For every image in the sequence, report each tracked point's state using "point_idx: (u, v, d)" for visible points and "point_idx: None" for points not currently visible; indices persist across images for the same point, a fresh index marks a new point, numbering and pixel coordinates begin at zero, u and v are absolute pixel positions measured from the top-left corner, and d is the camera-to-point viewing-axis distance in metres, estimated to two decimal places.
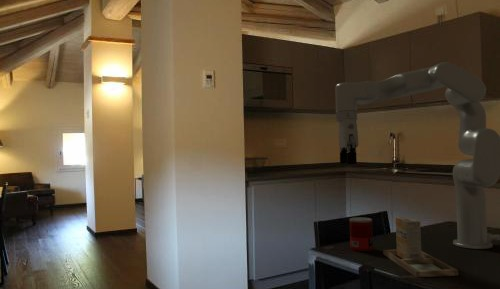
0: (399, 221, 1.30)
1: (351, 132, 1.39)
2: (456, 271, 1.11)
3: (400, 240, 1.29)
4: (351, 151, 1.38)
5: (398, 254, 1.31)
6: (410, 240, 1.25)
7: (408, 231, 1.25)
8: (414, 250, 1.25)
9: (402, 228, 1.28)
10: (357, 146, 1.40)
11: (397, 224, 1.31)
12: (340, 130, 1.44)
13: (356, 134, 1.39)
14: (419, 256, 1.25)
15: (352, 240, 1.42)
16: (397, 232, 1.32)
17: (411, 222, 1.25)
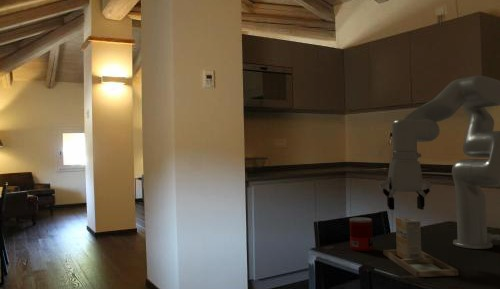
0: (399, 221, 1.30)
1: None
2: (456, 271, 1.11)
3: (400, 240, 1.29)
4: None
5: (398, 254, 1.31)
6: (410, 240, 1.25)
7: (408, 231, 1.25)
8: (414, 250, 1.25)
9: (402, 228, 1.28)
10: None
11: (397, 224, 1.31)
12: (409, 172, 1.27)
13: None
14: (419, 256, 1.25)
15: (352, 240, 1.42)
16: (397, 232, 1.32)
17: (411, 222, 1.25)
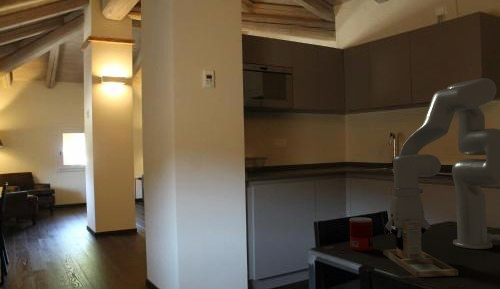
0: None
1: None
2: (456, 271, 1.11)
3: None
4: None
5: (398, 254, 1.31)
6: (410, 240, 1.25)
7: (408, 230, 1.25)
8: (414, 250, 1.25)
9: None
10: None
11: None
12: (411, 209, 1.27)
13: None
14: (419, 256, 1.25)
15: (352, 240, 1.42)
16: None
17: (411, 222, 1.25)
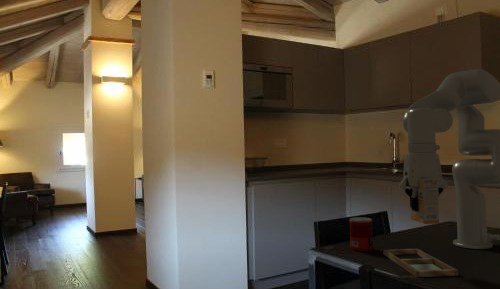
0: None
1: None
2: (456, 271, 1.11)
3: None
4: None
5: (412, 217, 1.20)
6: (427, 199, 1.13)
7: (424, 189, 1.13)
8: (431, 210, 1.13)
9: None
10: None
11: None
12: (427, 166, 1.15)
13: None
14: (436, 217, 1.14)
15: (352, 240, 1.42)
16: None
17: (428, 180, 1.14)
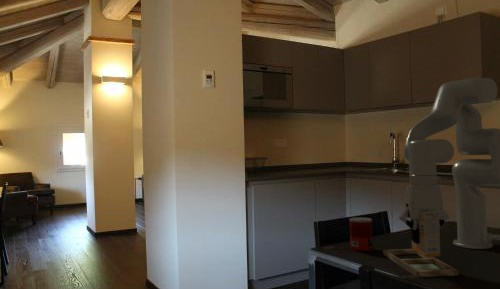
0: None
1: None
2: (456, 271, 1.11)
3: None
4: None
5: (413, 248, 1.20)
6: (428, 232, 1.13)
7: (425, 222, 1.13)
8: (432, 243, 1.13)
9: None
10: None
11: None
12: (428, 198, 1.15)
13: None
14: (437, 250, 1.13)
15: (352, 240, 1.42)
16: None
17: (429, 212, 1.13)
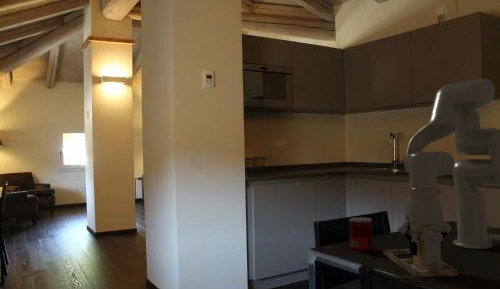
0: None
1: None
2: (456, 271, 1.11)
3: (417, 247, 1.18)
4: None
5: (414, 262, 1.20)
6: (429, 248, 1.13)
7: (426, 237, 1.13)
8: (433, 259, 1.13)
9: (419, 234, 1.16)
10: None
11: None
12: (429, 211, 1.15)
13: None
14: (438, 266, 1.13)
15: (352, 240, 1.42)
16: None
17: (430, 228, 1.13)
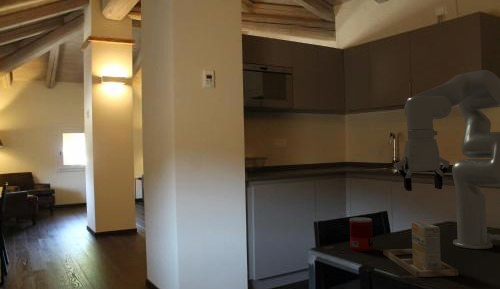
0: (415, 227, 1.18)
1: None
2: (456, 271, 1.11)
3: (417, 248, 1.18)
4: None
5: (414, 263, 1.20)
6: (429, 248, 1.13)
7: (425, 237, 1.13)
8: (433, 259, 1.13)
9: (419, 234, 1.16)
10: None
11: (413, 230, 1.20)
12: (426, 151, 1.22)
13: None
14: (438, 266, 1.13)
15: (352, 240, 1.42)
16: (413, 238, 1.20)
17: (429, 228, 1.13)
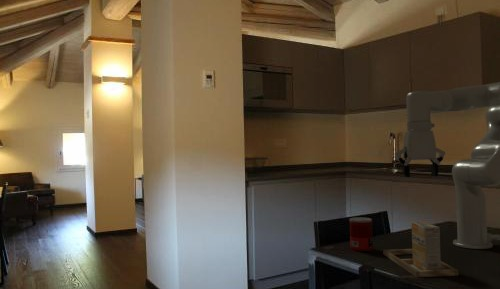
0: (415, 227, 1.18)
1: None
2: (456, 271, 1.11)
3: (417, 248, 1.18)
4: None
5: (414, 263, 1.20)
6: (429, 248, 1.13)
7: (425, 237, 1.13)
8: (433, 259, 1.13)
9: (419, 234, 1.16)
10: None
11: (413, 230, 1.20)
12: (423, 141, 1.34)
13: None
14: (438, 266, 1.13)
15: (352, 240, 1.42)
16: (413, 238, 1.20)
17: (429, 228, 1.13)
